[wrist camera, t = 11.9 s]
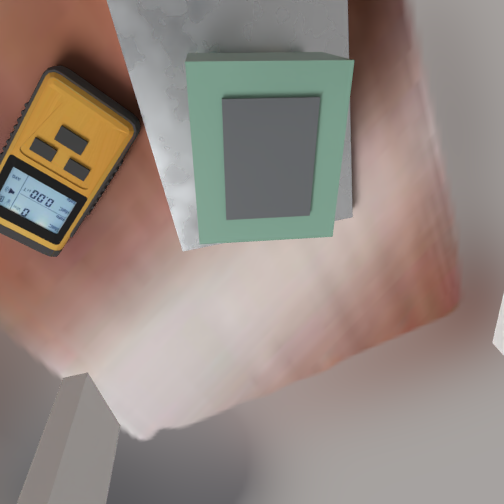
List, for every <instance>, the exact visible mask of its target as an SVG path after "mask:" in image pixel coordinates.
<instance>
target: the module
mask: <svg viewBox="0 0 504 504" xmlns="http://www.w3.org/2000/svg"><path fill="white" fill-rule="evenodd" d="M354 61H355V60H352V59H348V58H344V57H340V56H336V55H332V54H328V53H324V52H256V53H188V54H187V57H186V60H185V67H186V80H187V92H188V105H189V117H190V130H191V142H192V155H193V167H194V180H195V193H196V205H197V218H198V230H199V243H200V244H214V243H231V242H249V241H266V240H283V239H300V238H317V237H332V236H333V228H334V220H335V212H336V204H337V196H338V188H339V180H340V172H341V164H342V156H343V148H344V140H345V132H346V124H347V116H348V108H349V100H350V92H351V85H352V77H353V69H354Z"/></svg>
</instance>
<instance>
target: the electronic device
mask: <svg viewBox="0 0 504 504" xmlns="http://www.w3.org/2000/svg"><path fill="white" fill-rule="evenodd" d="M25 107H26V108H25V109H24V110H22V111H21V114H22V116H21V117H19V118H18V119H17V121H18V124H16V125H15V126H14V131H13V132H11V133H10V136H11V138H10V139H8V140H7V141H6V142H7V145H6V146H4V147H3V150H4V152H2V153H1V154H0V233H2V234H4V235H6V236H8V237H10V238H12V239H14V240H16V241H18V242H20V243H22V244H24V245H26V246H28V247H30V248H32V249H34V250H36V251H39V252H41V253H43V254H45V255H47V256H50V257H57V256H58V255H59V254H60V252H61V251H62V249H63V247H64V246H65V244H66V242H67V241H68V239H69V238H70V237H73V235H74V234H75V232H76V231H77V229H78V227H79V226H80V224H81V223H82V221H83V220H84V218H85V217H86V215H89V214H90V212H91V211H92V209H93V208H94V206H95V204H96V203H97V202H98V200H99V198H100V197H101V195H102V194H103V192H104V191H105V189H106V187H107V186H108V185H109V183H110V181H111V179H112V178H113V177H114V175H115V172H117V171H118V169H119V166H121V164H122V163H123V157H124V156H125V154H126V153H127V151H128V149H129V148H130V146H131V145H132V143H133V142H134V140H135V139H136V137H137V135H138V133H139V131H140V127H141V126H140V123H139V120H138V119H137V117H136V116H135V115H134V114H132V113H131V112H130V111H128V110H127V109H125V108H124V107H122V106H121V105H120V104H118V103H117V102H115V101H114V100H112V99H111V98H110V97H108V96H107V95H105V94H104V93H103V92H101V91H100V90H98V89H97V88H95V87H94V86H93V85H91V84H90V83H88V82H87V81H85V80H84V79H83V78H81V77H80V76H78V75H77V74H76V73H74V72H73V71H71V70H70V69H68V68H66V67H64V66H54V67H50V68H48V69H47V70H46V71H45V72H44V73H43V75H42V77H41V79H40V81H39V83H38V85H37V87H36V89H35V91H34V93H33V95H32V97H31V99H30V101H29V102H27V103H25Z"/></svg>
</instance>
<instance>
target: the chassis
mask: <svg viewBox="0 0 504 504" xmlns="http://www.w3.org/2000/svg"><path fill="white" fill-rule="evenodd" d="M107 3H108V6H109V9H110V13H111V16H112V19H113V22H114V26H115V29H116V32H117V36H118V39H119V42H120V46H121V49H122V52H123V55H124V59H125V62H126V65H127V69H128V72H129V75H130V79H131V82H132V85H133V89H134V92H135V95H136V98H137V102H138V105H139V108H140V112H141V115H142V118H143V122H144V125H145V128H146V131H147V135H148V138H149V141H150V145H151V148H152V151H153V155H154V158H155V161H156V164H157V168H158V171H159V174H160V178H161V181H162V184H163V188H164V191H165V194H166V197H167V201H168V204H169V207H170V211H171V214H172V217H173V221H174V224H175V227H176V231H177V234H178V237H179V240H180V244H181V247H182V250H183V251H187V250H192V249H197V248H202V247H207V246H212V245H217V244H222V243H214V244H200V243H199V230H198V218H197V205H196V193H195V180H194V167H193V155H192V142H191V130H190V117H189V105H188V92H187V80H186V67H185V60H186V57H187V54H188V53H256V52H324V53H328V54H332V55H336V56H340V57H344V58H348V59H349V37H348V0H107ZM351 217H353V215H352V170H351V126H350V100H349V108H348V116H347V124H346V132H345V140H344V148H343V156H342V164H341V172H340V180H339V188H338V196H337V204H336V212H335V220H334V221H336V220H341V219H346V218H351Z"/></svg>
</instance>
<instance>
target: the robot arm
mask: <svg viewBox="0 0 504 504" xmlns="http://www.w3.org/2000/svg"><path fill="white" fill-rule="evenodd" d="M492 343H493V344H494V345H495V346H496V347H497V348H498V349H499V351H500V352H501V353H502V354H503V355H504V295H503V299H502V304H501V308H500V312H499V316H498V321H497V325H496V329H495V334H494V338H493V342H492ZM119 430H120V424H119V423H118V421H117V419H116V418H115V416H114V414H113V413H112V411H111V410H110V408H109V406H108V405H107V403H106V401H105V400H104V398H103V397H102V395H101V393H100V392H99V390H98V388H97V387H96V385H95V384H94V382H93V380H92V379H91V377H90V375H89V374H88V373H84V374H79V375H75V376H70V377H66V378H63V380H62V382H61V385H60V388H59V391H58V393H57V396H56V399H55V401H54V405H53V407H52V410H51V412H50V415H49V418H48V420H47V423H46V426H45V428H44V431H43V434H42V437H41V440H40V442H39V445H38V447H37V450H36V453H35V456H34V458H33V461H32V464H31V467H30V469H29V472H28V475H27V477H26V480H25V483H24V485H23V488H22V491H21V494H20V497H19V499H18V502H17V504H106V500H107V495H108V490H109V484H110V479H111V473H112V467H113V463H114V457H115V452H116V447H117V441H118V435H119Z"/></svg>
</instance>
